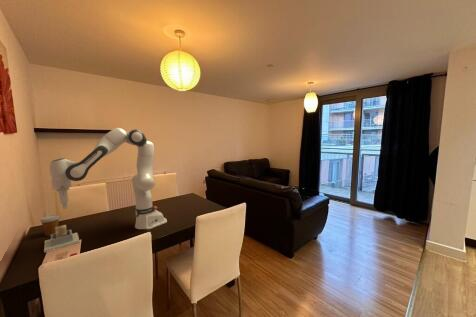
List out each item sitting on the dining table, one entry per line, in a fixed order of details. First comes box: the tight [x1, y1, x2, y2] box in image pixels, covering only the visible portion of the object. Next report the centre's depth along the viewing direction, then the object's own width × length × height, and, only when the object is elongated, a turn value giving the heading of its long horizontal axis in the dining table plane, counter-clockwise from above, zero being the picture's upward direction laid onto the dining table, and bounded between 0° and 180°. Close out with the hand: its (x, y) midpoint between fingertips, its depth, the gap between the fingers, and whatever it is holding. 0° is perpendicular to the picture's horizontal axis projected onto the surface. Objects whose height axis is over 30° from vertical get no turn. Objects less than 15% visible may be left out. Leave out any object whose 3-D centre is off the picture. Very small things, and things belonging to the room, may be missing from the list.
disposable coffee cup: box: [40, 214, 60, 237], centre depth 137 cm, size 10×10×12 cm
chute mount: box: [43, 229, 80, 254], centre depth 125 cm, size 16×15×6 cm
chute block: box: [55, 224, 68, 238], centre depth 125 cm, size 5×5×9 cm
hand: (65, 206), depth 123 cm, fingers open, 8 cm apart
